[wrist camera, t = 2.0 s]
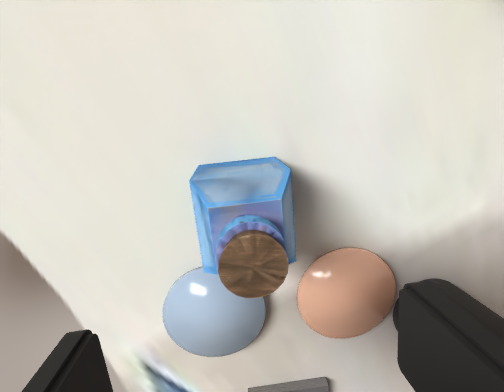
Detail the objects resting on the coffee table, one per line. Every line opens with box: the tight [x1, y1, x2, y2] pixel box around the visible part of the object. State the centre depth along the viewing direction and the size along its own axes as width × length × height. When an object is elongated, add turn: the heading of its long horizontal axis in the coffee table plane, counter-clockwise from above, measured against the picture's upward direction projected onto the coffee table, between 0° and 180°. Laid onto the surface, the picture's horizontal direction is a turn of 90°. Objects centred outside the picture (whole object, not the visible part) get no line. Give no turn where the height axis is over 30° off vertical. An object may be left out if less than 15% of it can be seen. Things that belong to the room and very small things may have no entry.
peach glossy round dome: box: [297, 248, 396, 338], centre depth 27 cm, size 9×9×1 cm
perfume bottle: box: [189, 157, 296, 298], centre depth 19 cm, size 6×6×12 cm
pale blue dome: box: [163, 267, 265, 357], centre depth 26 cm, size 9×9×1 cm
